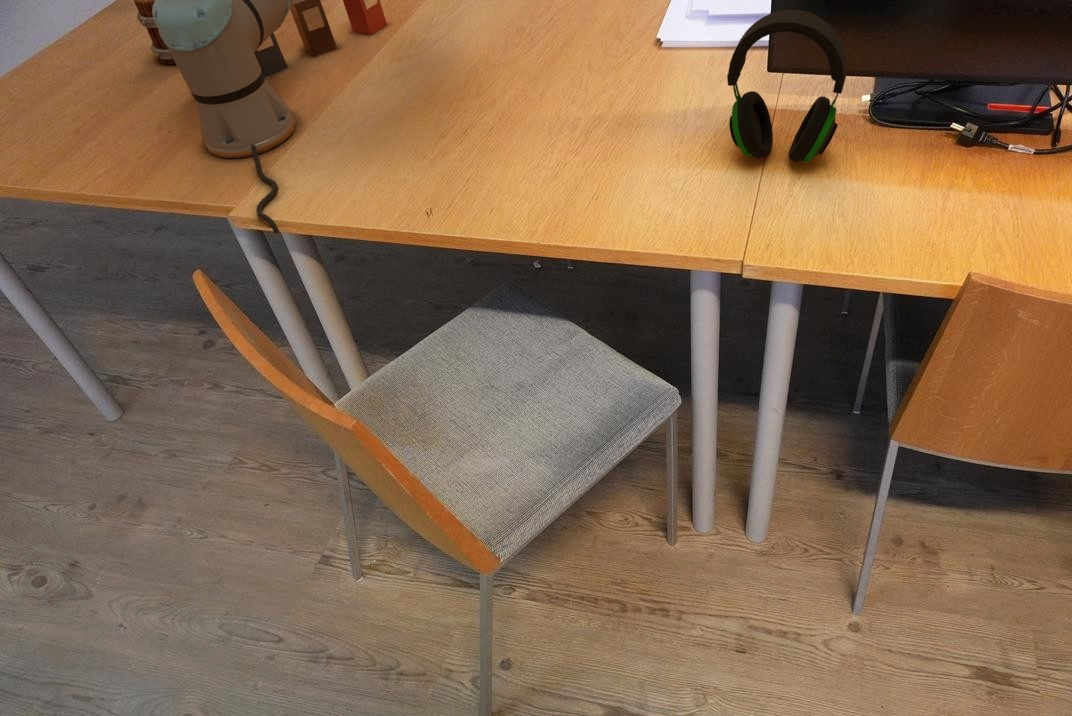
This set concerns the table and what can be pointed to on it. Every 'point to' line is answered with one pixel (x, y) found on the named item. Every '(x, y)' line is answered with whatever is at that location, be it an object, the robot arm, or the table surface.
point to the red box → (365, 15)
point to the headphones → (751, 111)
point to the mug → (153, 30)
